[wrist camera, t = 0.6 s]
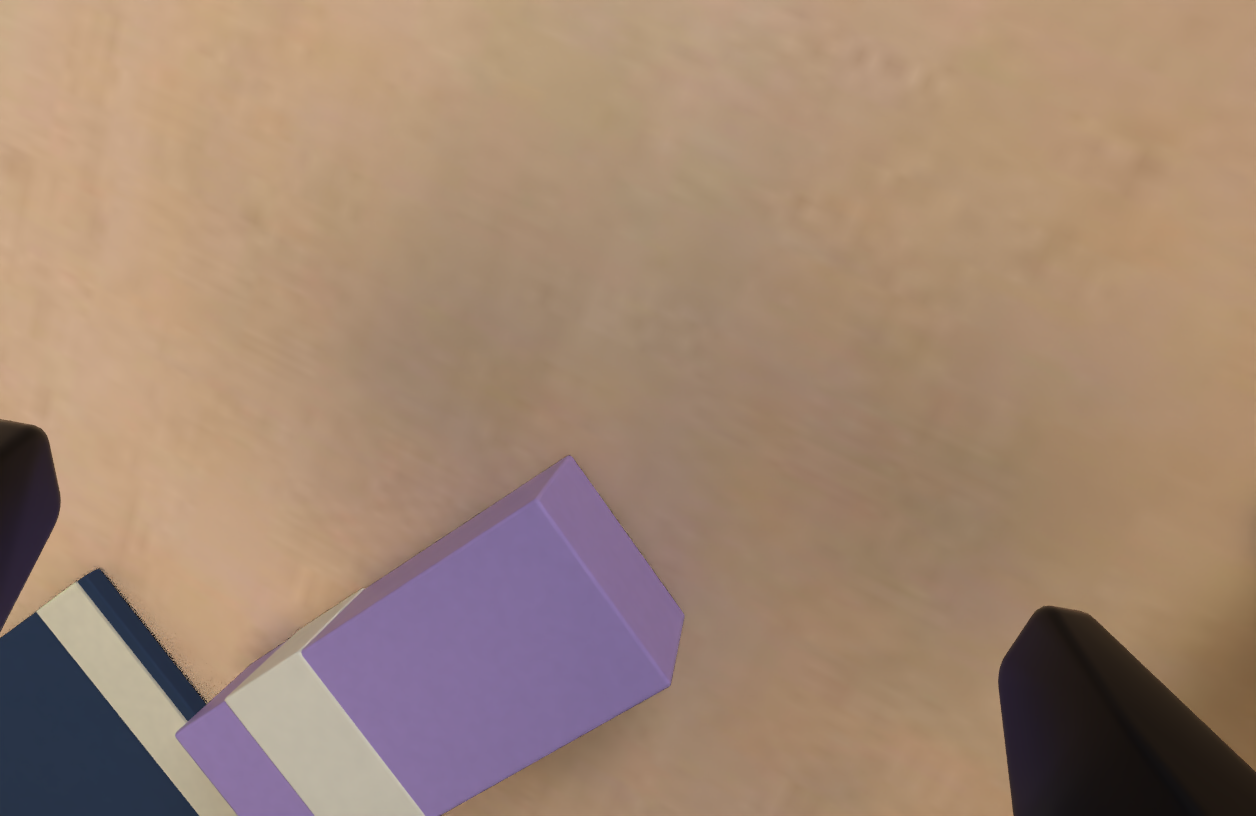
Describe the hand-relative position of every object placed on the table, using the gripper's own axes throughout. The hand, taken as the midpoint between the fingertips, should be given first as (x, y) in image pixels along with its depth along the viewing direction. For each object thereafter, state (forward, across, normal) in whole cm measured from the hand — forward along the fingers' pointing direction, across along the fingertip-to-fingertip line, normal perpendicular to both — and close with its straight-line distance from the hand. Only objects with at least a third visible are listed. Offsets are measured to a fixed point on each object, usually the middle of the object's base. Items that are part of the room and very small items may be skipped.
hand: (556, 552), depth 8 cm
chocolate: (+10, +2, +14) cm, 17 cm away
